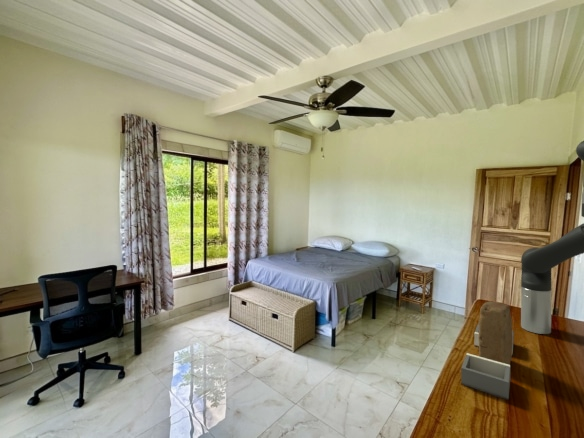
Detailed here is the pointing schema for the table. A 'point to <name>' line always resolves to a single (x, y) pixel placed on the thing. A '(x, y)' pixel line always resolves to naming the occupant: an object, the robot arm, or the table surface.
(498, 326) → the block
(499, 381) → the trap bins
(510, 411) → the table surface
